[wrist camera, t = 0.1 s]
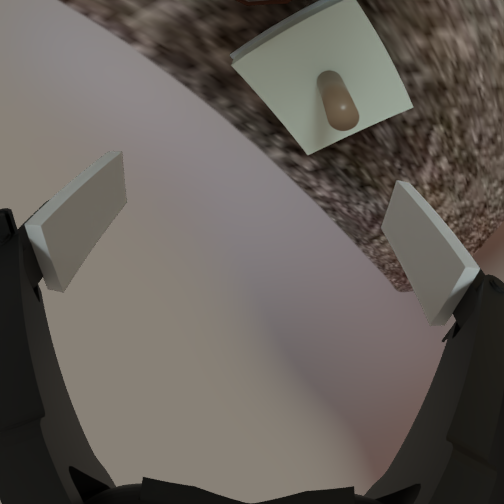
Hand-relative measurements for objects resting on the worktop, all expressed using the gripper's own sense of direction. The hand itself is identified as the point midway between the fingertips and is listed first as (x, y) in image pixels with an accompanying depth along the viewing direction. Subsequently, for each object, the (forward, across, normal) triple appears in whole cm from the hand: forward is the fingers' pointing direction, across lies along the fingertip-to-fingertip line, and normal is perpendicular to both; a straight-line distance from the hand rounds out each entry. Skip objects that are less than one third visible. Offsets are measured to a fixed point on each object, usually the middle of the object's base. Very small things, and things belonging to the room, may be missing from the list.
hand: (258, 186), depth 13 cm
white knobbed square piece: (+27, +7, +6) cm, 28 cm away
